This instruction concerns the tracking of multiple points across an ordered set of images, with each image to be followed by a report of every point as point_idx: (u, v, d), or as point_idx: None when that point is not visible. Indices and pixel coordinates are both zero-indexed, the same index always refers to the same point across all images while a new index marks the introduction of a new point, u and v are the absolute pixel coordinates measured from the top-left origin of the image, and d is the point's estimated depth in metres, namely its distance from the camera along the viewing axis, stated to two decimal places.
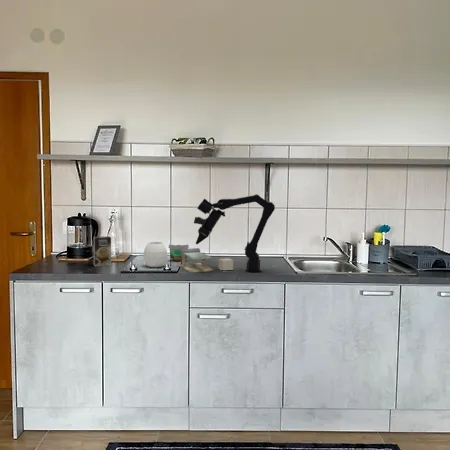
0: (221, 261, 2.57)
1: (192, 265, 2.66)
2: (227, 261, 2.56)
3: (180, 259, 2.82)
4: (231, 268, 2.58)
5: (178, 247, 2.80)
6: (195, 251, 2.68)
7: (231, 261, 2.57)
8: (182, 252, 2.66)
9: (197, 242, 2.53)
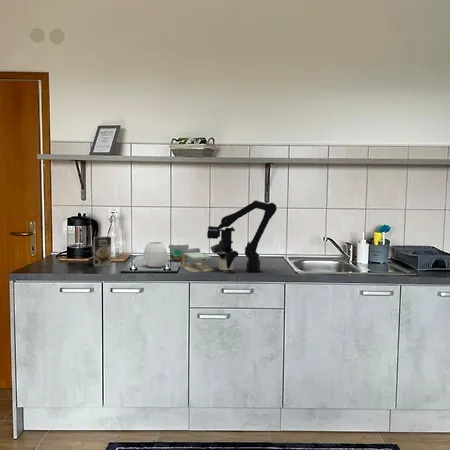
0: (221, 261, 2.57)
1: (192, 265, 2.66)
2: None
3: (180, 259, 2.82)
4: (231, 268, 2.58)
5: (178, 247, 2.80)
6: (195, 251, 2.68)
7: None
8: (182, 252, 2.66)
9: (228, 266, 2.56)
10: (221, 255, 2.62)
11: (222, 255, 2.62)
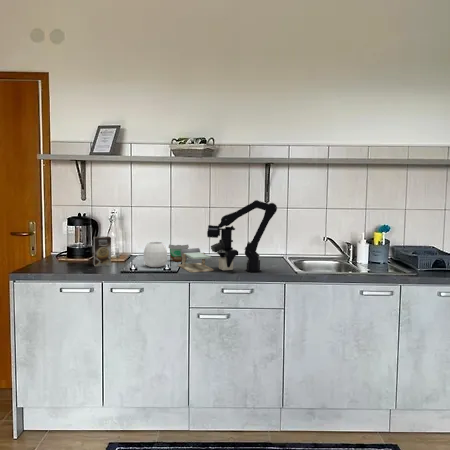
0: (221, 260, 2.57)
1: (192, 265, 2.66)
2: None
3: (180, 259, 2.82)
4: (231, 267, 2.58)
5: (178, 247, 2.80)
6: (195, 251, 2.68)
7: None
8: (182, 252, 2.66)
9: (228, 265, 2.56)
10: (221, 254, 2.62)
11: (222, 254, 2.62)
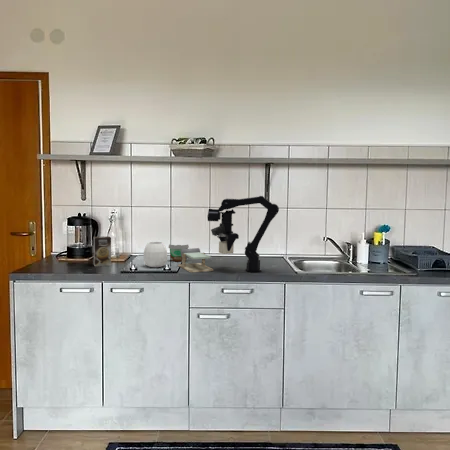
0: (221, 243, 2.56)
1: (192, 265, 2.66)
2: None
3: (180, 259, 2.82)
4: (231, 251, 2.57)
5: (178, 247, 2.80)
6: (195, 251, 2.68)
7: None
8: (182, 252, 2.66)
9: (229, 249, 2.55)
10: (221, 238, 2.61)
11: (222, 238, 2.61)
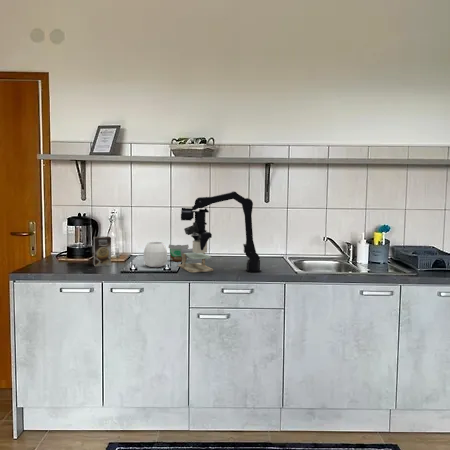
0: (195, 243, 2.54)
1: (192, 265, 2.66)
2: None
3: (180, 259, 2.82)
4: (205, 250, 2.55)
5: (178, 247, 2.80)
6: None
7: None
8: (182, 252, 2.66)
9: (202, 248, 2.53)
10: (195, 237, 2.59)
11: (196, 237, 2.59)
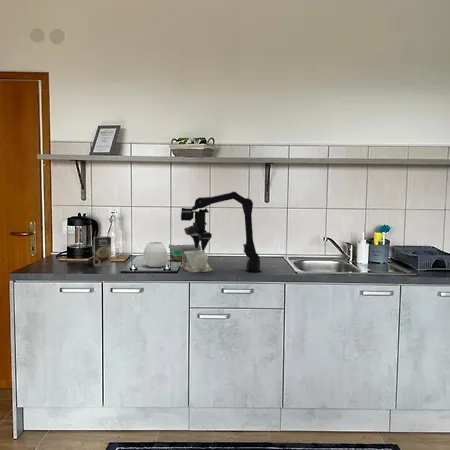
0: (196, 256, 2.53)
1: None
2: (202, 258, 2.53)
3: (180, 259, 2.82)
4: (204, 264, 2.56)
5: (178, 247, 2.80)
6: (196, 249, 2.67)
7: (206, 258, 2.54)
8: (183, 248, 2.65)
9: (203, 248, 2.52)
10: (194, 237, 2.60)
11: (195, 237, 2.60)
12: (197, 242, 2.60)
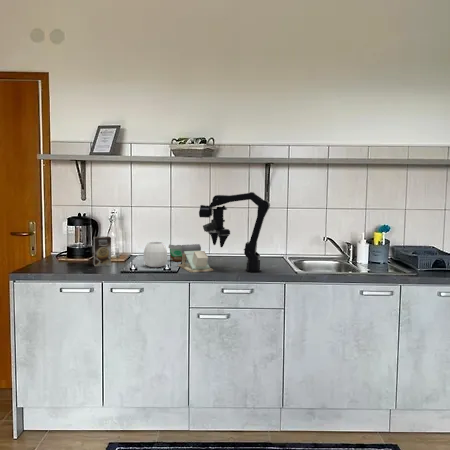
0: (196, 256, 2.53)
1: None
2: (202, 258, 2.53)
3: (180, 259, 2.82)
4: (204, 264, 2.56)
5: (178, 247, 2.80)
6: (196, 249, 2.67)
7: (206, 258, 2.54)
8: (183, 248, 2.65)
9: (222, 245, 2.56)
10: (212, 234, 2.64)
11: (213, 234, 2.64)
12: (215, 239, 2.65)
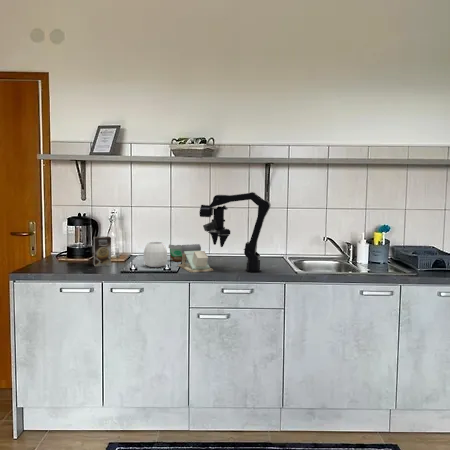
0: (196, 256, 2.53)
1: None
2: (202, 258, 2.53)
3: (180, 259, 2.82)
4: (204, 264, 2.56)
5: (178, 247, 2.80)
6: (196, 249, 2.67)
7: (206, 258, 2.54)
8: (183, 248, 2.65)
9: (222, 245, 2.56)
10: (212, 233, 2.64)
11: (213, 233, 2.65)
12: (215, 239, 2.65)
